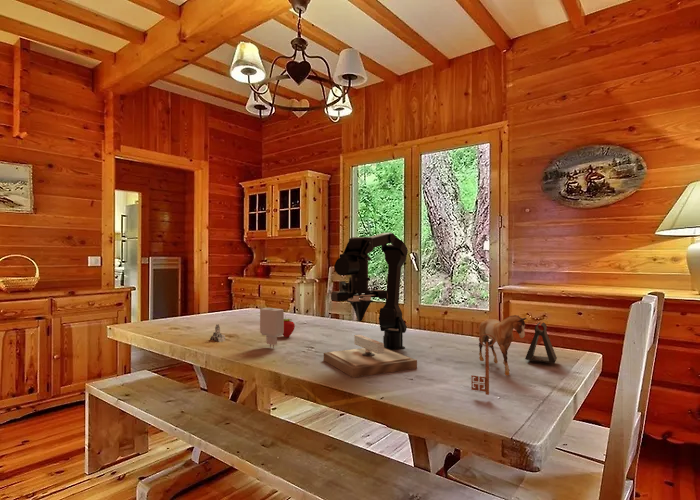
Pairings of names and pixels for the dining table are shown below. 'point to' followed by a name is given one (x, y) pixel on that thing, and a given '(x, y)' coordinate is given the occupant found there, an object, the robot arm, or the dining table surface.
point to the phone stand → (547, 344)
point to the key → (477, 379)
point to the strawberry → (288, 327)
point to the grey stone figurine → (218, 335)
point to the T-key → (369, 344)
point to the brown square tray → (369, 362)
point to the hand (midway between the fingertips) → (359, 321)
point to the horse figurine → (501, 335)
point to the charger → (271, 324)
